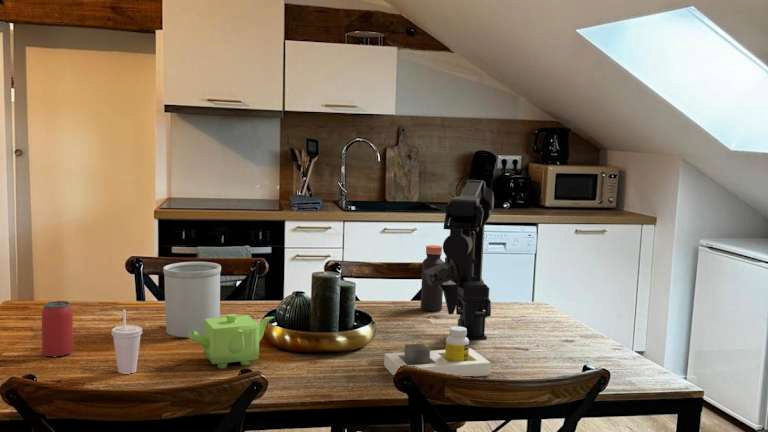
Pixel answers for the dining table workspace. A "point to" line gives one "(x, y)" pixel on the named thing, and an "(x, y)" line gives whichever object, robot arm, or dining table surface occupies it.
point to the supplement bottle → (457, 345)
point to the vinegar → (429, 294)
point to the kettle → (231, 339)
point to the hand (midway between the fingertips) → (458, 319)
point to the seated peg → (416, 354)
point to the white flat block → (443, 364)
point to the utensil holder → (191, 296)
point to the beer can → (57, 328)
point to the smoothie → (126, 346)
